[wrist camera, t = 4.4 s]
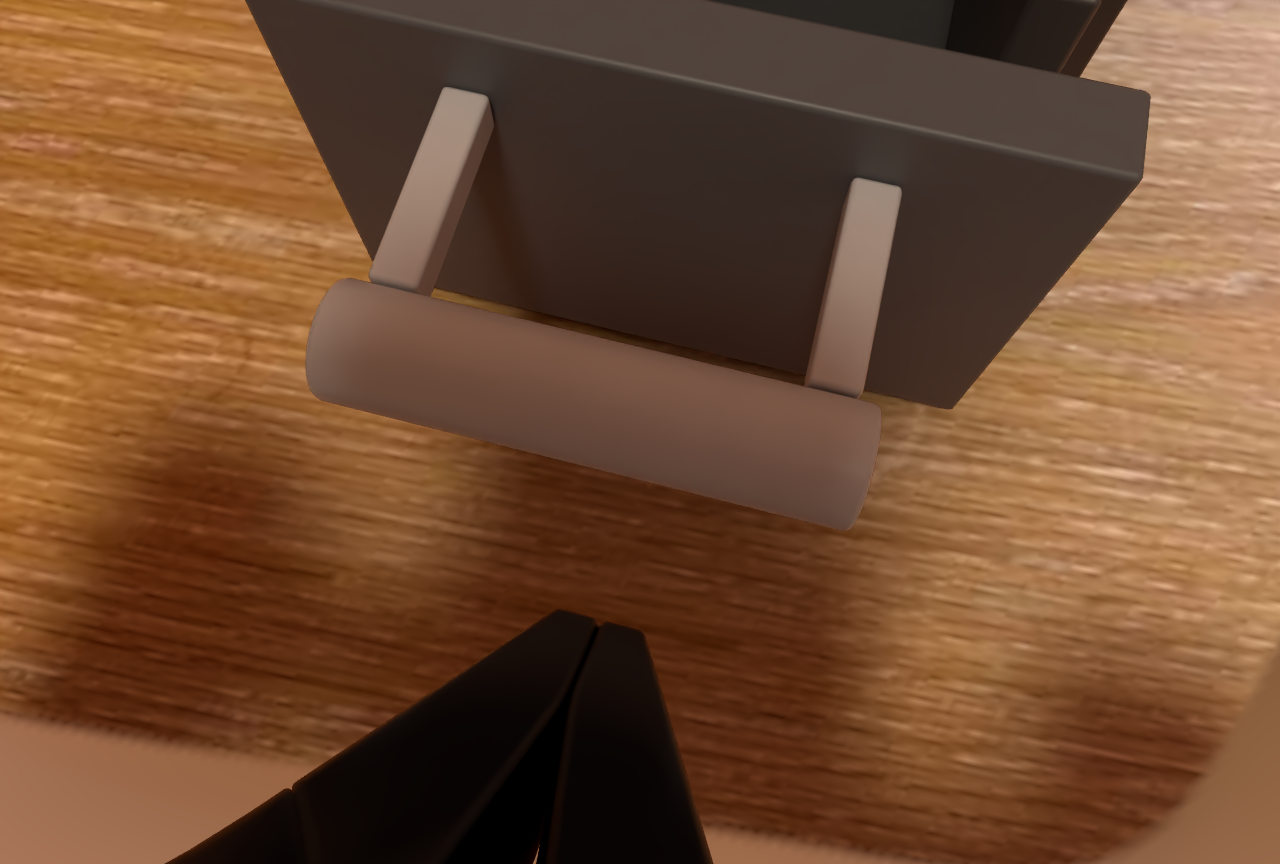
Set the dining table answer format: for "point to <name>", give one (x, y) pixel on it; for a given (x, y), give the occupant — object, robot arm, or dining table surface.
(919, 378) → the drawer
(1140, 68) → the dining table surface
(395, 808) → the robot arm
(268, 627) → the dining table surface
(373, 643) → the dining table surface
